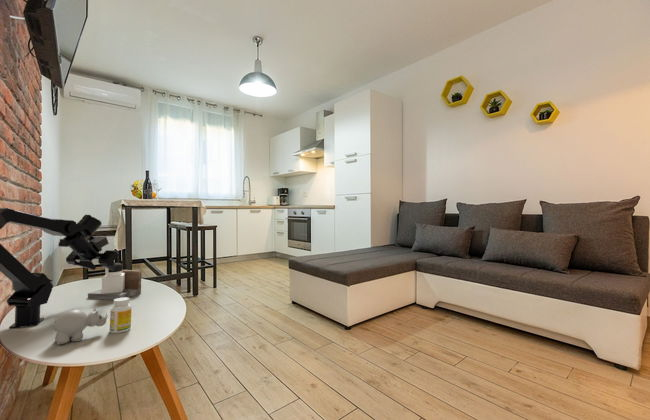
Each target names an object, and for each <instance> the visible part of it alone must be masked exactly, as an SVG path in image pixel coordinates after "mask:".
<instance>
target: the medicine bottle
mask: <svg viewBox="0 0 650 420" xmlns="http://www.w3.org/2000/svg"><path fill="white" fill-rule="evenodd" d="M114 263H115V267H116V269H115V271H112V270H110V269H107V268H105V267H104V268H105V271H104V272H105V275H103V276H102V277H101V290H102V294H109V293H120V292H122V291H123V290H124V288H125V273H122V272H123V270H124V269H123V268H124V267H123V263H120V262H114Z"/></svg>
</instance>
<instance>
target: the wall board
mask: <svg viewBox="0 0 650 420" xmlns="http://www.w3.org/2000/svg"><path fill="white" fill-rule="evenodd" d="M122 273H125V288H124V290H123V291H122V292H120V293H109V294H102V289H99V290H95V291H91V292H88V293H87V299H93V300H111V301H112V300H113V301H114V300H115V299H117V298H123V297H127V298H130V296H131V297H133V296H136V295H138V294H141V293H142V273H143V271H142V270H134V269H133V270H132V269H123V272H122Z"/></svg>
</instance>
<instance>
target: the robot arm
mask: <svg viewBox="0 0 650 420" xmlns="http://www.w3.org/2000/svg"><path fill="white" fill-rule="evenodd" d="M7 224H13V225H18V226H24V227H28V228H33V229H38V230H41V231H43V233H46V234H48V235H52V236H57V237H59V236H60V237H63V238H59V242H58V247H64V248H69V249H71V250H72V251H71V252H70V253H69V254H68V255H67V256H66V257H65V262H66V263H67V264H68V265H72V266H77V267H82V268H84V269H89V270H93V271H95V270H96V269H97V267H96V265H95V264H94V263H93V262H92V261H93V260H97V261H98V264H99V265H100V266H101V267H103V268H107V269H110V270H112V271H115V269H116V267H115V263H116V262H115V260H116V259H117V257H118V256H119V255H120V253H119V252H118V250H113V249H108V250H107V249H106V250H105V251H104V252H102V250H103V247H105V246H107V245H109V241H108V240H109V239H108V238H107V236H103V235H100V236H99V235H97V236H93V235H94V234H95V233H96V232H97V230H98V229H99V228H100V227H101V226H102V221H101V219H98V218H96V217H94V216H91V214H85V215H83V216H82V218H81V219H80V220H79V221H78V222H76V221H75V220H73V219H72V220H71V219H59V218H58V219H57V218H49V217H48V218H47V217H44V216H41V215H36V214H32V213H27V212H23V211H19V210H16V209H13V208H11V207H0V230H1V229H2V228H4V227H5V226H6V225H7ZM0 273H2V274H3V275H4V276H5V277H6V278H7V279H8V280H9V281H11V282H12V289H13V291H14V292H13V293H12V294H11V295H10V296H9V297H8V298H7V299H6V303H7V305H8V307H15V308H14V323H12V324H11V325H9V327H8V329H16V328H25V327H33V326H38V325H39V324H40V323H42V322H43V321H44V320H45V317H41V305H45V304H48V301H49V298H50V297H51V293H52V291H53V288H54V285H53V283H52V282H53V280H52V279H50V278H48V276H47V275H46V274H45V273H44V272H31V271H30V270H29V269H28V268H27V267H26V266H25V265H24V264H23V263H22V262H21V261H20V260H18V258H16V257H15V256H14V255H13V254H12V253H11V252H10V251H9V250H8V249H7V248H6V247H5V246H3V245H2V243H0Z"/></svg>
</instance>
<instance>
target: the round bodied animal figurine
mask: <svg viewBox="0 0 650 420" xmlns="http://www.w3.org/2000/svg"><path fill="white" fill-rule="evenodd" d="M108 317H109V315H108V313H107V312H106V313H105V315H102V314H101V313H100V312H99V310H97V308H94V309H93V310H92V311H91V312H88V313H86V312H84V311H83V310H80V309H70V310H66V311H64V312H63V313H61V314H60V315H59V316H58V317H57V318H56V319H55V320H54V322H53V324H54V330H55V332H56V334H55V336H54V340H55V342H56V343H57V345H64V344H66V343H69V342H70V341H71V342H79V341H82V340H83V339H84V333H83V331H84V330H85V329H86V328H87V327H95V326H97V327H103V326H104V325H106V323H107V319H108Z"/></svg>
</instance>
